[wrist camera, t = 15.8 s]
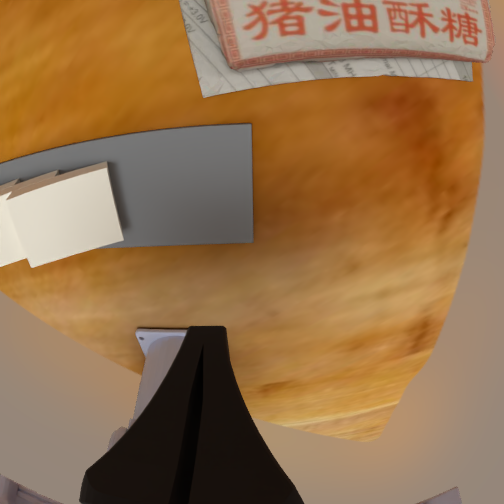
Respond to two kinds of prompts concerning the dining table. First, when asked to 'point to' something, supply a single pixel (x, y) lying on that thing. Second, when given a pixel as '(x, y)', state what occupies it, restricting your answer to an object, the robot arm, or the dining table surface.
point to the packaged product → (333, 40)
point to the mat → (165, 182)
